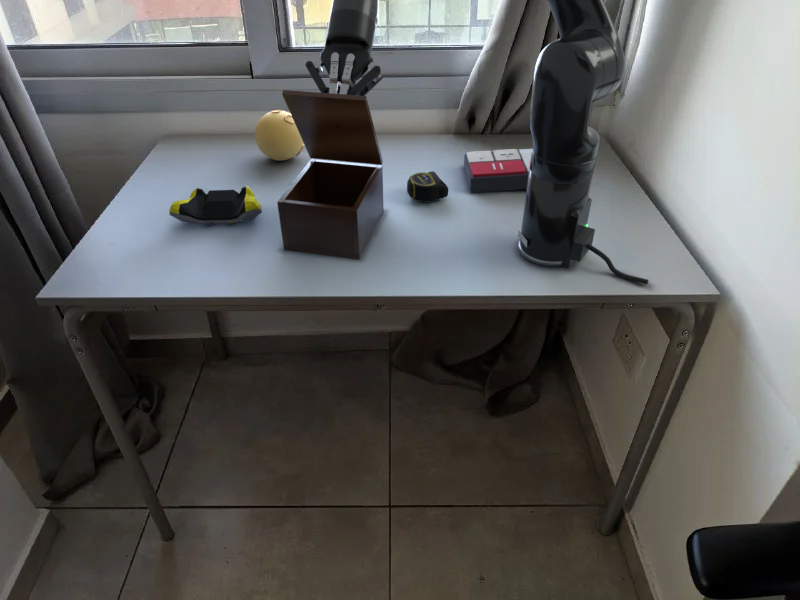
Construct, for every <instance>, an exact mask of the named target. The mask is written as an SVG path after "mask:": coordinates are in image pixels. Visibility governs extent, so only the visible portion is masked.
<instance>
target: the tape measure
mask: <svg viewBox="0 0 800 600" xmlns="http://www.w3.org/2000/svg"><path fill="white" fill-rule="evenodd" d="M406 191H407V194H408V196H409V197H410V198H411V199H412V200H414V201H416V202H419V203H420V202H421V203H432V202H435V201H438V200H442V199H445V198H447V197H448V196H449V187H448V185H447V184H446V183H445V182H444V181H443V180H442V179H441V178H440V177H439V175H438V174H437V173H436V172H435V171H434V170H432V171H428V172H416V173H414V174H412V175H410V176H409V178H408V179H407V182H406Z"/></svg>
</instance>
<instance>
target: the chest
mask: <svg viewBox="0 0 800 600" xmlns="http://www.w3.org/2000/svg"><path fill="white" fill-rule="evenodd" d="M383 171H384V169H383V165H376V164H366V163H355V162H345V161H334V160H324V159H313V158H310V160H308V162H307V163H306V165H305V166H304V168H302V170H301V171H300V172H299V174H298V175H297V176H296V177H295V178H294V180H293V181H292V182H291V184H289V186H288V187H287V189H285V191H284V193H282V195H281V196H280V197H279V198H278V200H277V201H276V203H277V210H278V217H279V224H280V225H279V226H280V231H281V239H282V246H283V251H287V252H294V253H295V252H296V253H304V254H310V255H311V254H312V255H319V256H328V257H336V258H344V259H352V260H360V259H361V257H363V256H362V255H363V254H364V252H365V249H366V248H367V245H368V244H369V242H370V240H371V238H372V236H373V233H374V231H375V230H376V229H377V226H378V224H379V222H380V220H381V218H382V216H383V214H384V211H385V210H384V174H383V173H384V172H383Z"/></svg>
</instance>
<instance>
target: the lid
mask: <svg viewBox="0 0 800 600" xmlns="http://www.w3.org/2000/svg"><path fill="white" fill-rule="evenodd" d="M281 95H282V97H283V100H284V102H285V104H286V106H287V109H288V112H289V113H290V114H291V115H292V118H293V120H294V122H295V125H296V127H297V129H298V131H299V134H300V136H301V138H302V140H303V143H304V148H305V149H306V152H307V154H308V156H309V159H316V160H327V161H337V162H347V163H358V164H368V165H379V166H383V163H384V160H383V156H382V153H381V149H380V145H379V141H378V137H377V133H376V130H375V129H376V128H375V126H374V122H373V117H372V113H371V109H370V106H369V102H368V97H367V95H365V96H358V95H345V94H331V93H321V92H317V91H303V90H291V89H289V90H288V89H283V90H282V93H281Z"/></svg>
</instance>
